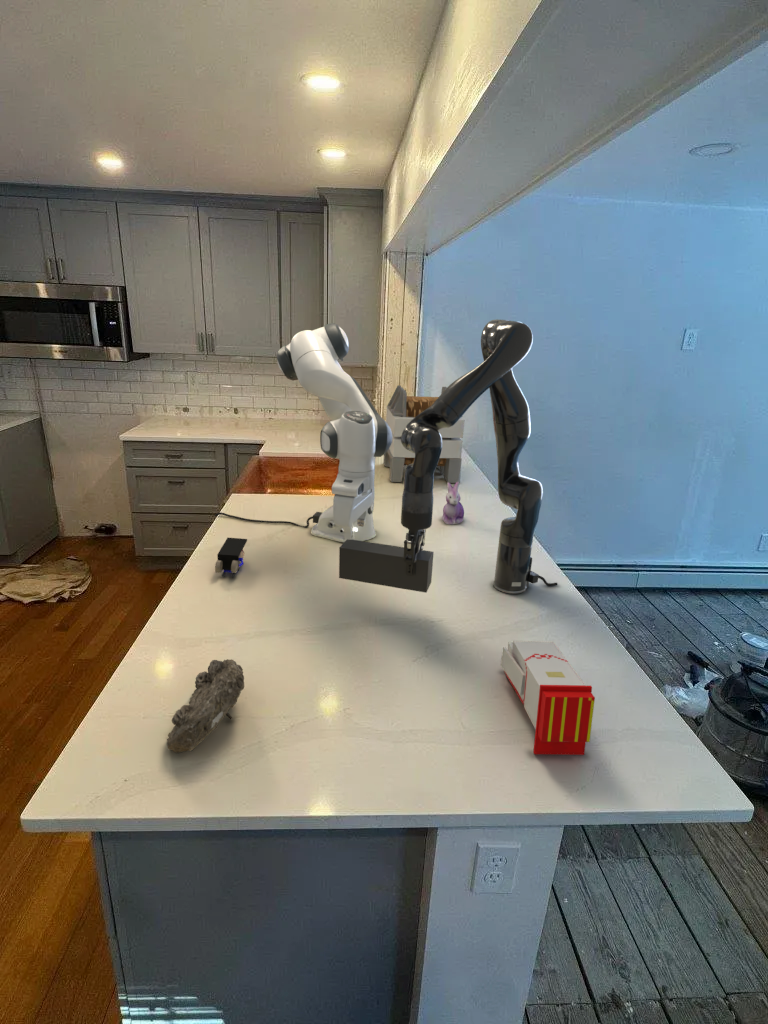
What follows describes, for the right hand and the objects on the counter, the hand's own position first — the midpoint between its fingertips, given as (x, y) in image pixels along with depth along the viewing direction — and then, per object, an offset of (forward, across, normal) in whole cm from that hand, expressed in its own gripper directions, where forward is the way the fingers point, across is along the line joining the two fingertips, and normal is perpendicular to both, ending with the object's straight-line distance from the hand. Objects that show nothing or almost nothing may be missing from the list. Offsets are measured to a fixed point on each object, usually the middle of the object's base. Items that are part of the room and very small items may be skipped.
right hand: (413, 569), depth 142 cm
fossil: (+13, -50, +27) cm, 58 cm away
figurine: (+13, +74, +1) cm, 75 cm away
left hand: (-8, 0, +16) cm, 18 cm away
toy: (+13, -26, -33) cm, 44 cm away
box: (+4, 0, +7) cm, 8 cm away
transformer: (+14, +134, +28) cm, 137 cm away
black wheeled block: (+13, +8, +56) cm, 58 cm away
